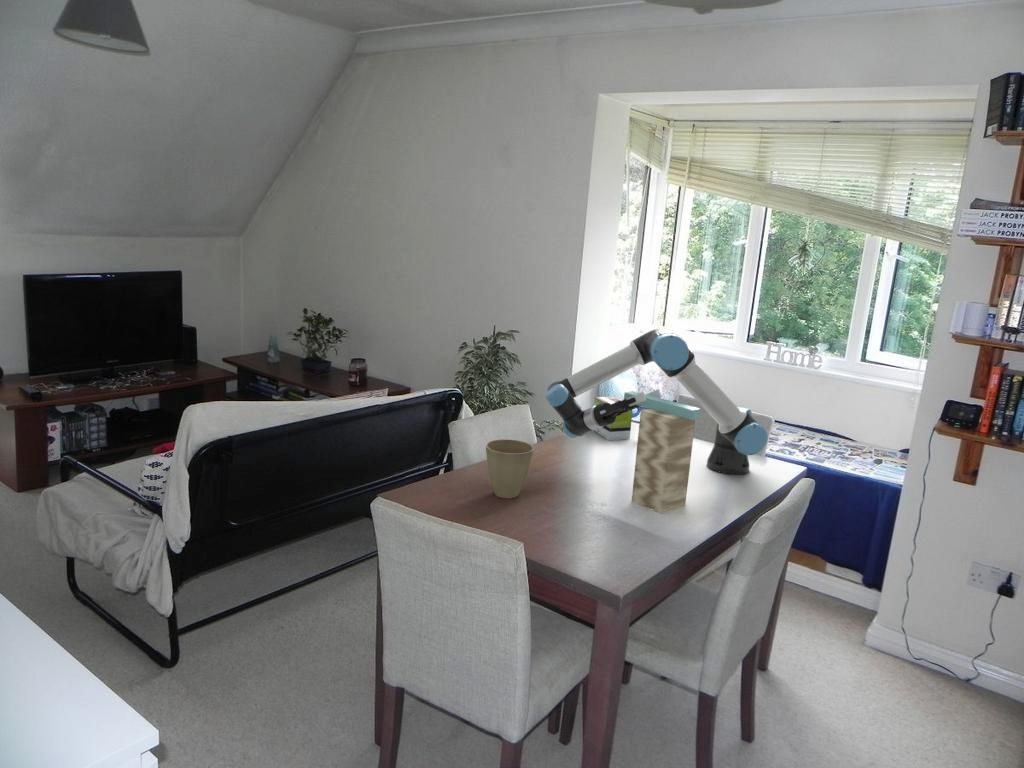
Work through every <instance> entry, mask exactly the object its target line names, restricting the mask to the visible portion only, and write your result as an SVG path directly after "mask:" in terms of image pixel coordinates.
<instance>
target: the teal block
mask: <svg viewBox="0 0 1024 768" xmlns="http://www.w3.org/2000/svg"><path fill="white" fill-rule="evenodd" d="M623 393H624V396H623V400H624V399H626V400H627V398H629V397H632V396H634V395H637V394H639V393H640V392H636V391H633V390H632V391H630V390H629V391H625V392H623ZM644 395H645V398H646V400H645V401H643V402H641V403H638V404H636V405H638V406H640V407H643V408H644V409H648V408H649V409H653V410H657V411H660V412H664V413H668V414H671V415H675V416H679V417H682V418H686V419H690V420H695V421H696V420H699V419H700V418H701V412H702V411H701V410H702V409H701V408H699V407H696V406H692V405H687V404H683V403H680V402H677V401H673V400H672V401H671V400H667V399H664V398H662V397H661V398H657V397H653V396H649V395H646V394H645V393H644Z"/></svg>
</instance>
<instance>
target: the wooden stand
mask: <svg viewBox="0 0 1024 768" xmlns="http://www.w3.org/2000/svg"><path fill="white" fill-rule="evenodd" d="M695 425H696V419H695V420H690V419H686V418H682V417H679V416H675V415H671V414H668V413H664V412H660V411H657V410H653V409H649V408H643V409H640V413H639V424H638V433H637V434H638V436H637V444H636V453H635V454H636V455H635V465H634V473H633V481H632V493H631V494H632V495H631V503H634V504H636V505H638V506H641V507H644V508H647V509H648V510H651V509H652V511H654V512H656V511H657V513H659V514H663V515H664V514H665V513H669V512H671V510H672V511H675V510H677V508H678V509H680V508H683V507H685V506H686V502H687V494H688V485H689V477H690V469H691V461H692V452H693V445H694V444H693V441H694V434H695Z"/></svg>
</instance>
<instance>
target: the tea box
mask: <svg viewBox="0 0 1024 768" xmlns="http://www.w3.org/2000/svg"><path fill="white" fill-rule="evenodd" d="M619 400H620V401H622V400H623V399H621V398H619V397H617V396H616V395H615V396H612V395H611V396H597V397H594V406H597V405H599V404H601V403H603V402H607V403H609V404H613V403H615V402H617V401H619ZM594 406H593V407H594ZM624 411H625V410H624ZM632 419H633V410H630V411H628V412H625V413H623V414H622V415H619V416H617V415H616V419H615V421H614V423H612V424H610V425H607V426H604V427H602V428H599V431H597V430H594V431H593V432H595V433H597V434H599V435H600V436H602V437H603V438H606V439H607V440H608V441H614V440H615V441H616V440H617V441H618V440H620V441H621V440H629V439H631V430H632V429H631V428H632Z"/></svg>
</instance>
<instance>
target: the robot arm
mask: <svg viewBox="0 0 1024 768" xmlns="http://www.w3.org/2000/svg"><path fill="white" fill-rule="evenodd" d="M653 362H654V363H655V365H657V366H658V367H659V369H660V370H662V372H663V373H664V374H665V375H666V376H667V377H668V378H672V379H673V378H675V379H676V380H677V381H678V382H679V384H681V385H682V387H684V389H685V390H686V391H687V392H688V393H689V394H690V395H691V396H692V397H693V398H694V399H695V400H696V401H697V403H698V404H699V405H700V406H701V407H702V408H703V409H704V410H705V411H706V412H707V413H708V414H709V416H710V417H712V419H713V420H714V421H715V422H716V427H715V435H714V444H713V447H712V449H711V452H710V453H709V456H708V457H707V460H706V466H708V467H707V468H708V469H710V468H711V470H712V469H713V471H714V470H716V472H718V471H720V472H719V473H721V472H724V473H723V474H727V473H731V474H730V475H744V474H743V473H745V474H747V472H748V471H750V461H749V456H755V455H757V454H759V453H760V452H762V451H763V450H764V448H766V446H767V443H768V440H769V439H768V438H769V437H768V432H767V430H766V428H765V427H764V426H763V424H761V423H759V422H758V421H757V420H756V419H755V418H754V417H753V416H752V415H753V414H752V409H750V408H747V407H740V406H739V407H738V406H737V405H736V404H735V403H734V402H733V401H732V400H731V398H730V397H728V395H727V394H726V393H725V392H724V391H723V390H722V389H721V388H720V387H719V386H718V384H717V383H716V382H715V380H713V379H712V378H711V377H710V376H709V374H707V373H706V371H704V369H703V368H702V367H701V365H700V364H698V363H697V361H696V354H695V353H694V352H693V351H692V349H691V348H690V347H689V346H688V343H687V342H686V340H685V339H684V338H683V337H682V336H680V335H679V334H677V333H675V332H672V331H671V330H669V329H666V328H660V327H659V328H654V329H652V330H650V331H648V332H645V333H644V334H642V335H640V336H638V337H636V338H635V339H632V340H631V341H630V343H629V345H627V346H625V347H624V348H621V349H619V350H618V351H616V352H614V353H612V354H610V355H608V356H606V357H604V358H602V359H600V360H598V361H597V362H596V361H595V363H593V364H591V365H589V366H587V367H585V368H583V369H581V370H579V371H577V372H575V373H574V374H571V375H570V376H568V377H565V378H563V379H562V380H554V381H552V382H551V383H550V384H549V385H548V387H547V389H546V394H545V396H544V397H545V399H546V401H547V402H548V404H549V405H550V406H551V407H552V408H553V410H555V412H556V413H557V414H558V416H559V417H561V418H560V419H562V420H563V421H562V429H563V432H564V434H565V435H566V436H567V437H569V438H571V439H574V438H575V439H576V438H578V437H582V436H584V435H587V434H589V433H591V432H592V433H593V432H595V431H594V430H597V431H599V428H602V427H604V426H607V425H610V424H612V423H614V421H615V419H616V415H617V416H619V415H622V414H623V413H625V412H628V411H630V410H632V411H633V410H634V409H637V408H640V407H641V406H638V405H636V404H638V403H641V402H643V401H645V400H646V398H645V395H649V396H653V397H657V398H661V399H662V395H661V392H660V389H655V390H653V391H651V392H650V391H649V392H648V393H646V394H645V392H644V391H642V392H638V393H639V394H637V395H634V396H632V397H629V398H627V400H626V399H624V398H623V399H621V400H622V401H620V400H619V401H617V402H615V403H613V404H609V403H607V402H603V403H601V404H599V405H597V406H592V407H588V408H587V409H585V410H584V409H583V408H582V407H581V406H580V405H579V403H578V402H577V400H576V399H575V398H577V397H578V396H580V395H582V394H584V393H586V392H588V391H590V390H592V389H594V388H596V387H598V386H599V385H602V384H604V383H606V382H607V381H609V380H612V378H615V377H617V376H619V375H621V374H623V373H625V372H627V371H629V370H631V369H633V368H635V367H637V366H639V365H640V366H645V365H647V364H649V363H653ZM644 394H645V395H644ZM624 410H625V411H624ZM748 473H749V472H748Z"/></svg>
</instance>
